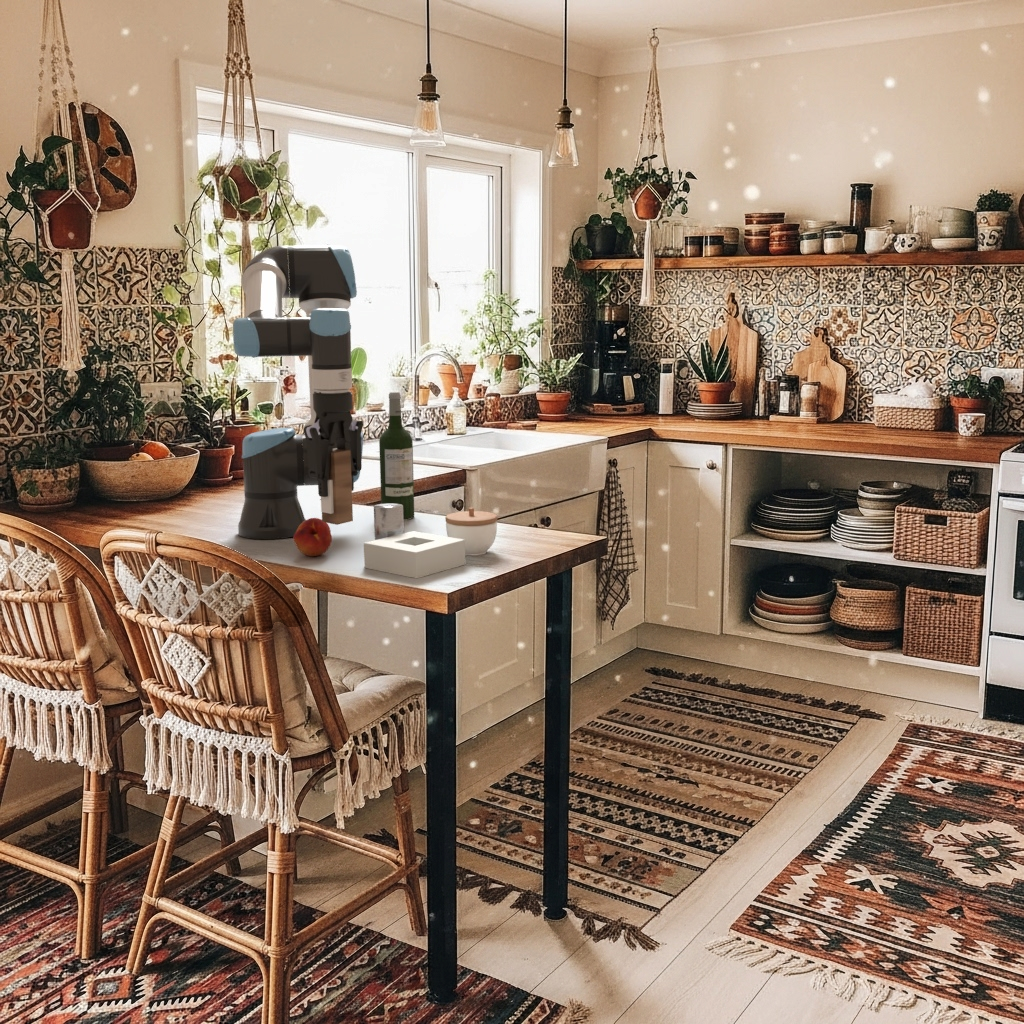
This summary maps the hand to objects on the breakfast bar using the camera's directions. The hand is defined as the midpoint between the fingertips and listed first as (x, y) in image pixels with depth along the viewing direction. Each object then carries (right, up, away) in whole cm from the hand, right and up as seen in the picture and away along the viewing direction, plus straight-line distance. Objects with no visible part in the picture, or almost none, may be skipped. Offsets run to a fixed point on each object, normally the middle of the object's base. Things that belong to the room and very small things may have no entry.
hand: (337, 510), depth 221 cm
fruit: (-7, -10, +12) cm, 17 cm away
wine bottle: (+7, -2, +52) cm, 52 cm away
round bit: (+9, -9, +14) cm, 19 cm away
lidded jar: (+26, -9, +14) cm, 31 cm away
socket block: (+15, -11, +2) cm, 19 cm away
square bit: (0, -2, 0) cm, 2 cm away
